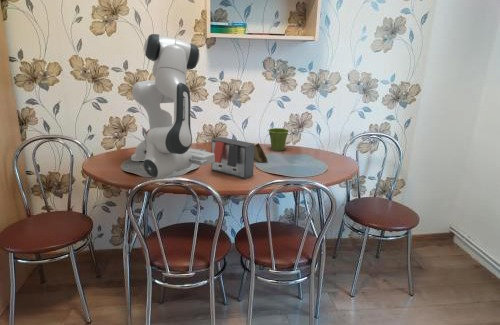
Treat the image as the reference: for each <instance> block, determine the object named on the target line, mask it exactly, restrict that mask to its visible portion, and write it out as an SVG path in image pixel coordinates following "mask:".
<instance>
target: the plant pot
mask: <svg viewBox="0 0 500 325" xmlns="http://www.w3.org/2000/svg"><path fill="white" fill-rule="evenodd" d="M267 132H269V139H270V147H271V149H272V151H276V152H278V151H281V152H282V151H284V150H285V146H286V140H287V137H288V133H289V132H290V130H289V129H287V128H281V127H274V128H269V129H268V130H267Z"/></svg>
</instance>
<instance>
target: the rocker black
mask: <svg viewBox="0 0 500 325" xmlns="http://www.w3.org/2000/svg"><path fill="white" fill-rule="evenodd" d="M238 147H239V146H234V145H229V153H228V162H227V165H228V166H232V167H236V163H237V155H238Z"/></svg>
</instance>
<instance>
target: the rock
mask: <svg viewBox="0 0 500 325" xmlns="http://www.w3.org/2000/svg"><path fill="white" fill-rule="evenodd" d="M254 161H256V162H258V161H259V162H258V163H261V162H268V163H269V161H268V157H267V156H266V153H265V151H264V149H263V148H262V146H261V145H260V142H258V143H256V144H254Z"/></svg>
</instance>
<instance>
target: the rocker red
mask: <svg viewBox="0 0 500 325" xmlns="http://www.w3.org/2000/svg"><path fill="white" fill-rule="evenodd" d="M223 149H224V143H221V142H216V143H215V149H214V154H215V161H214V162H218V163H221V160H222V154H223Z"/></svg>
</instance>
